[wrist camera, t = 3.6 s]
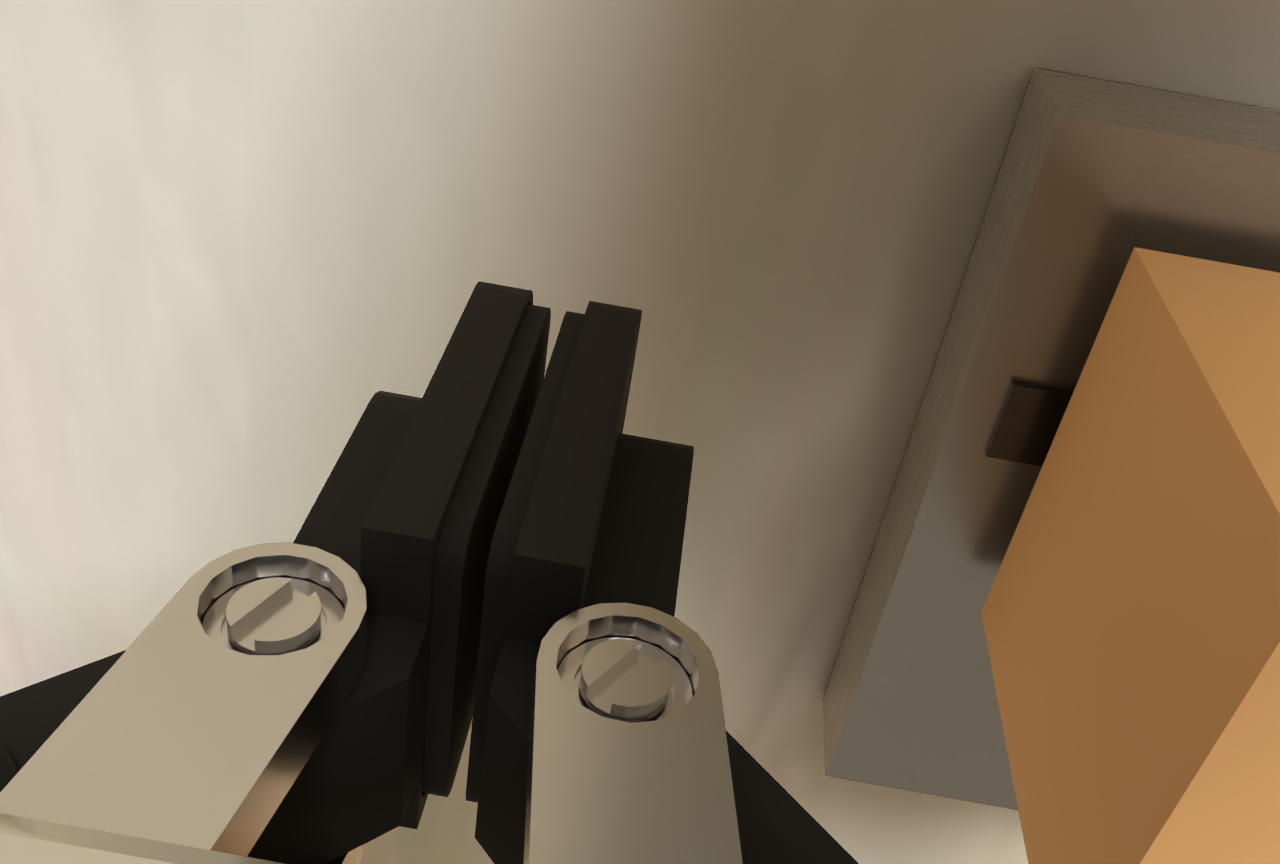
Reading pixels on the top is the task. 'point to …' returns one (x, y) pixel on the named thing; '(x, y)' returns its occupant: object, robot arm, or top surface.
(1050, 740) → the block
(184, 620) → the robot arm
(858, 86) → the top surface
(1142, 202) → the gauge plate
